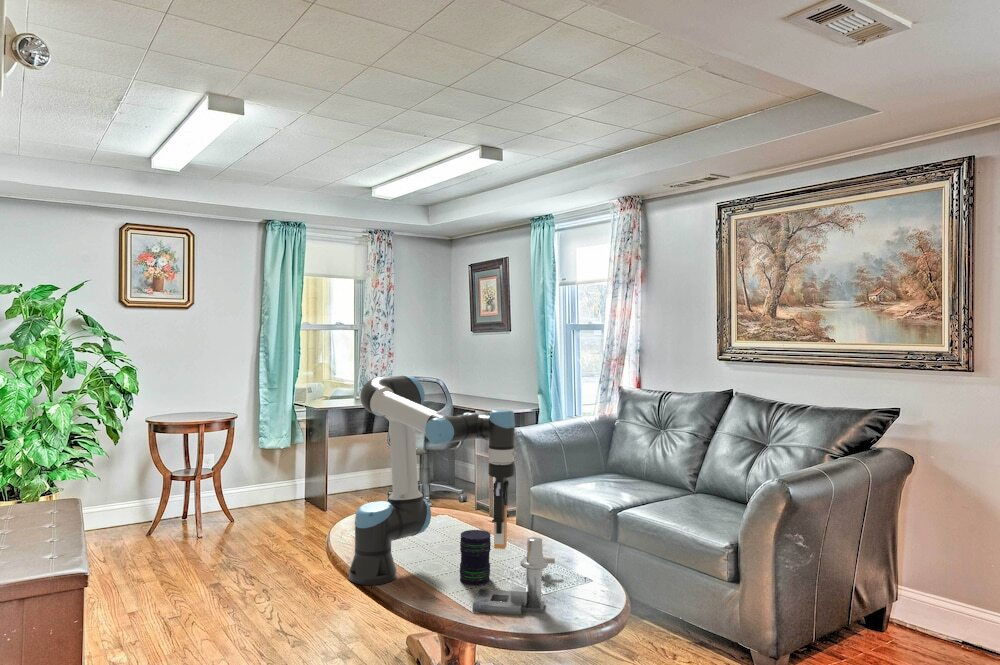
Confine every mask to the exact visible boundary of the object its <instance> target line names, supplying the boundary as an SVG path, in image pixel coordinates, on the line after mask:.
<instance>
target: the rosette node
mask: <svg viewBox="0 0 1000 665" xmlns="http://www.w3.org/2000/svg"><path fill="white" fill-rule="evenodd" d="M542 545H543V539H542V538H540V537H537V536H534V537H533V536H532V537H528V538H527V539H526V557H527V558H525V559H524V558H523V559H521V560H520V566H521V567H522V568H524V569H526V576H525V577H526V579H525V580H526V581H525V582H526V583H525V584H526V585H525V587H519V586H518V587H517V586H512V588H511V590H501V589H500V590H499V589H489V588H488V589H487V588H479V590H478V592H477V594H476V597H475V599H474V601H473V602H472V612H480V613H488V614H489V613H492V614H504V615H515V616H521V615H522V612H529V613H530V612H533V613H543V612H544V609H545V604H546V601H545V600H542V575H543V569H546V568H548V566H549V563H548V561H546V560H545V559H542V553H543V548H542ZM500 601H502V602H500Z"/></svg>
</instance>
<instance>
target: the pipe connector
mask: <svg viewBox="0 0 1000 665" xmlns="http://www.w3.org/2000/svg"><path fill="white" fill-rule="evenodd" d="M543 547H544V546H543V544H542V549H544V548H543ZM543 553H544V552H542V559H545V560H546V561H548V564H551V565H552V564H553V565H555V563H556V562H555V561H556V560H555V559H556V557H544V554H543ZM525 558H527V556H524V557H523V559H525Z"/></svg>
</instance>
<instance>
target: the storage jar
mask: <svg viewBox="0 0 1000 665" xmlns="http://www.w3.org/2000/svg"><path fill="white" fill-rule="evenodd" d="M459 544H460V545H459V546H460V548H459V551H460V563H459V582H460V583H461V584H463V585H465V586H470V587H478V586H479V587H480V586H484V585H487V584H488V583H490V579H491V578H490V575H491V562H490V553H491V549H492V548H491V533H490V531H487V530H483V529H469V530H465V531H462V532H461V533H460V542H459Z"/></svg>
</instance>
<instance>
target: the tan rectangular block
mask: <svg viewBox="0 0 1000 665" xmlns="http://www.w3.org/2000/svg"><path fill="white" fill-rule="evenodd" d="M507 511H508V504H507V505H504V521H503V522H504V545H502V544H494V542H495V522H493V523H494V526H493V527H494V528H493V533H494V534H493V549H497V550H505V549H506V548H507V544H508V543H507V541H508V540H507V538H508V537H507V536H508V535H507V533H508V532H507V531H508V530H507V528H508V527H507V526H508V524H507V522H508V517H507V514H508V512H507Z"/></svg>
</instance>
